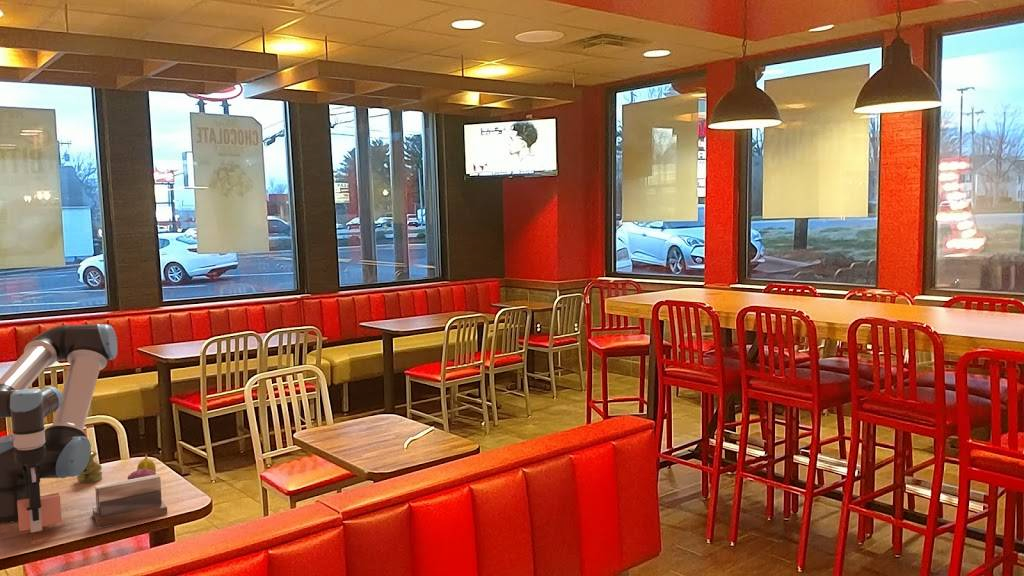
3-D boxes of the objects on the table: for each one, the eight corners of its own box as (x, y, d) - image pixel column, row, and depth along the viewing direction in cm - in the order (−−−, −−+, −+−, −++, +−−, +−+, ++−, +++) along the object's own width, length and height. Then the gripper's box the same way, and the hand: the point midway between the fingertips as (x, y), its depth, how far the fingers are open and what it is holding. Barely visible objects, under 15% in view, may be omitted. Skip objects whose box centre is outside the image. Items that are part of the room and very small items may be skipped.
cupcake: (146, 485, 262) (144, 449, 260) (163, 489, 257) (161, 453, 256) (122, 493, 254) (120, 456, 253) (139, 498, 250) (136, 460, 249)
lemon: (144, 478, 268) (142, 455, 267) (159, 479, 267) (158, 455, 266) (134, 484, 263) (132, 460, 262) (150, 485, 262) (148, 461, 261)
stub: (19, 527, 222) (17, 500, 221) (60, 519, 228) (58, 492, 227) (19, 531, 220) (17, 503, 219) (61, 522, 226) (59, 495, 225)
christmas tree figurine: (107, 477, 270) (105, 448, 268) (91, 484, 262) (89, 455, 261) (88, 475, 271) (86, 446, 270) (71, 483, 264) (69, 453, 263)
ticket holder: (92, 514, 237) (90, 481, 236) (158, 501, 247) (156, 469, 246) (99, 528, 227) (97, 493, 226) (167, 513, 238) (165, 480, 237)
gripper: (11, 441, 225) (17, 522, 228) (16, 456, 212) (22, 542, 215) (42, 436, 229) (48, 516, 232) (48, 450, 216) (54, 535, 219)
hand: (35, 528), depth 223 cm, fingers closed on stub, 3 cm apart
